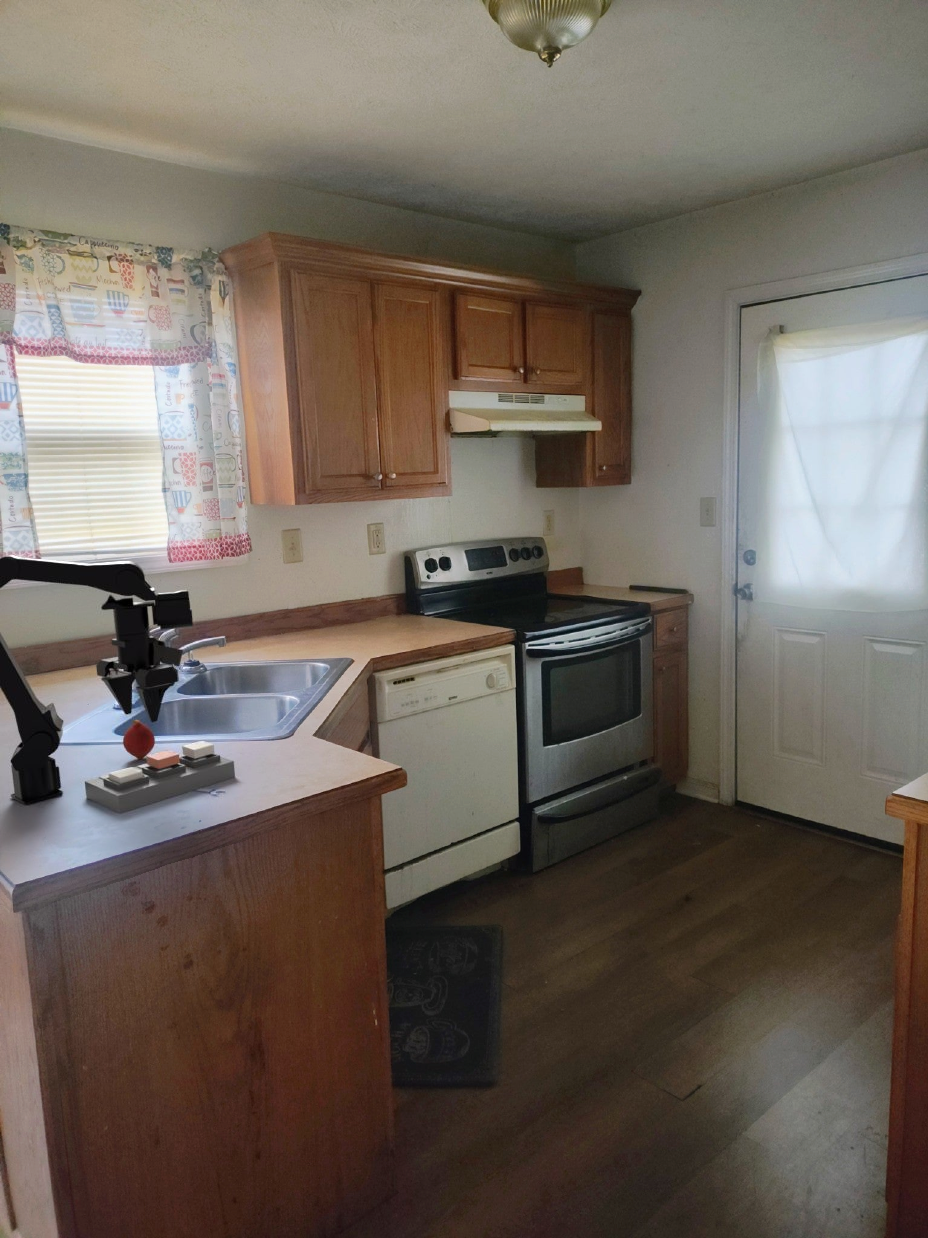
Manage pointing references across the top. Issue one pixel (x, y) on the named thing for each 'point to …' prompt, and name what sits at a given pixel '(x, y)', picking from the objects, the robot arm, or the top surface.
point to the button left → (125, 775)
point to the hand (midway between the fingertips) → (140, 717)
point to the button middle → (162, 759)
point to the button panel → (159, 782)
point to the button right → (198, 749)
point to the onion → (139, 740)
